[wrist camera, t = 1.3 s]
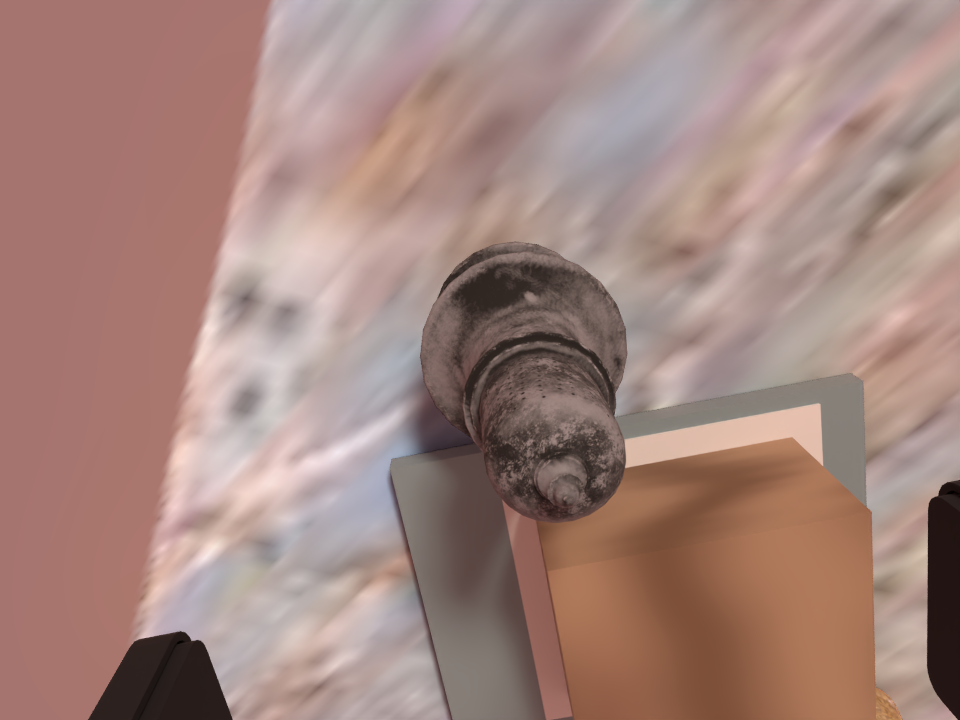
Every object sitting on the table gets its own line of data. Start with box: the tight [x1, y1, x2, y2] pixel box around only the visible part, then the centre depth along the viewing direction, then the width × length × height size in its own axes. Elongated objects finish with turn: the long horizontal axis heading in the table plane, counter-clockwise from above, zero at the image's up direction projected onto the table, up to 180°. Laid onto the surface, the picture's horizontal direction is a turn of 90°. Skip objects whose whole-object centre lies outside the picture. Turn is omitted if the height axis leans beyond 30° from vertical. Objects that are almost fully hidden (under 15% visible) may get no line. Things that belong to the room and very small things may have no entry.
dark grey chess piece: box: [420, 242, 627, 523], centre depth 19 cm, size 6×6×12 cm
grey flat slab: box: [390, 373, 867, 720], centre depth 27 cm, size 16×12×1 cm
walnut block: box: [536, 437, 876, 720], centre depth 24 cm, size 9×9×5 cm
